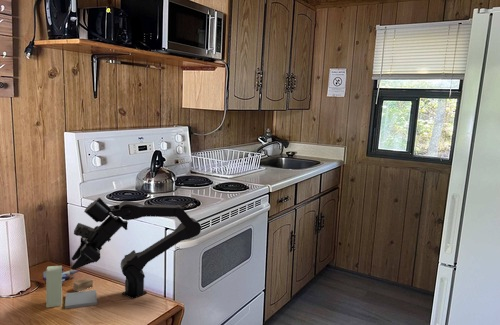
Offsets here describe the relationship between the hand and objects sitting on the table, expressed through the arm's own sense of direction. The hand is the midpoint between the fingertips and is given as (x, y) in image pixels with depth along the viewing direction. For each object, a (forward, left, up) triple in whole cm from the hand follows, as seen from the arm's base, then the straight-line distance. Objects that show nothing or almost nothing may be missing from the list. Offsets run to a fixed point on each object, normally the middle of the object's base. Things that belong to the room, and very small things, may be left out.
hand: (72, 264), depth 135 cm
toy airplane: (+19, -8, -14) cm, 24 cm away
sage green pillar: (+3, +5, -13) cm, 14 cm away
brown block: (+7, -9, -14) cm, 17 cm away
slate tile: (-2, -2, -13) cm, 14 cm away
